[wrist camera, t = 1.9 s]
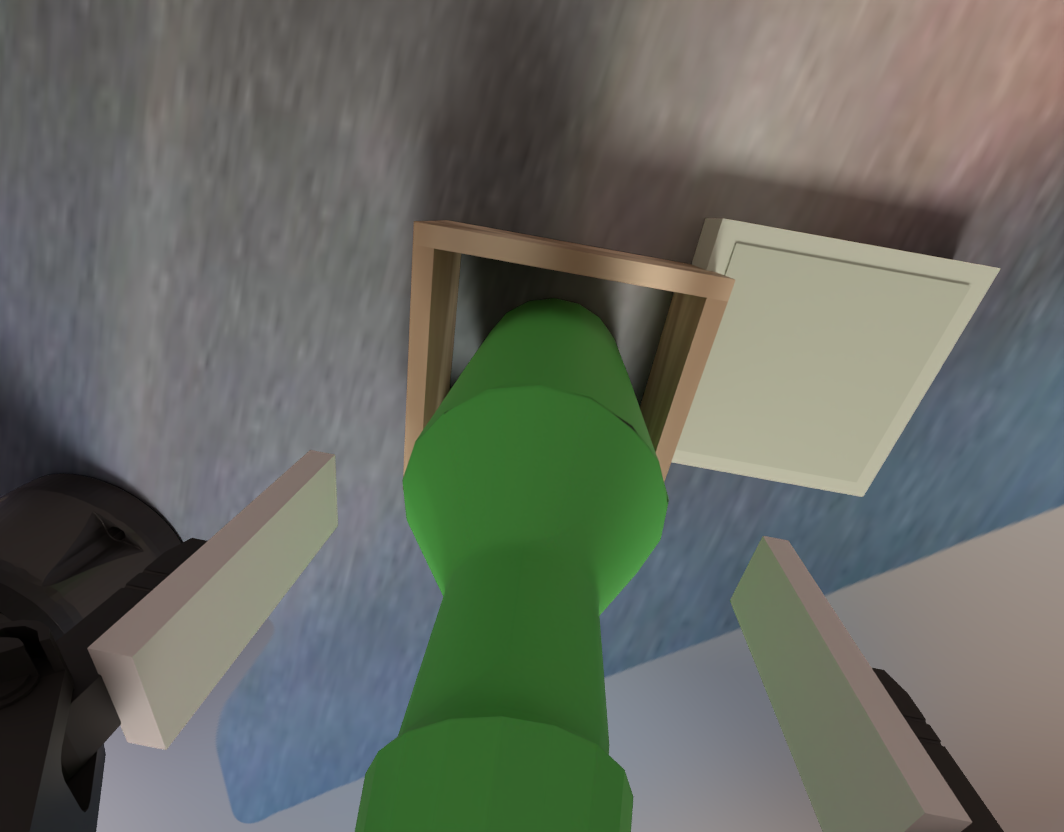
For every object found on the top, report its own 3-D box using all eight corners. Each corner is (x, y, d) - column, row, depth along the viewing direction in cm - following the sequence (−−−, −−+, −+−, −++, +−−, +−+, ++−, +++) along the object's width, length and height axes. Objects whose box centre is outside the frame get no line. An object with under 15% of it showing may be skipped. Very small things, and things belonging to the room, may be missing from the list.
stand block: (638, 435, 30) (646, 458, 27) (705, 217, 24) (723, 218, 21) (836, 471, 30) (864, 498, 27) (952, 262, 24) (1003, 268, 21)
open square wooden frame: (431, 441, 32) (402, 488, 26) (447, 220, 25) (413, 221, 20) (632, 478, 32) (646, 533, 26) (699, 265, 25) (735, 279, 20)
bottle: (548, 264, 26) (404, 605, 3) (646, 361, 28) (980, 985, 5) (458, 366, 29) (69, 898, 6) (552, 446, 31) (508, 1065, 8)
